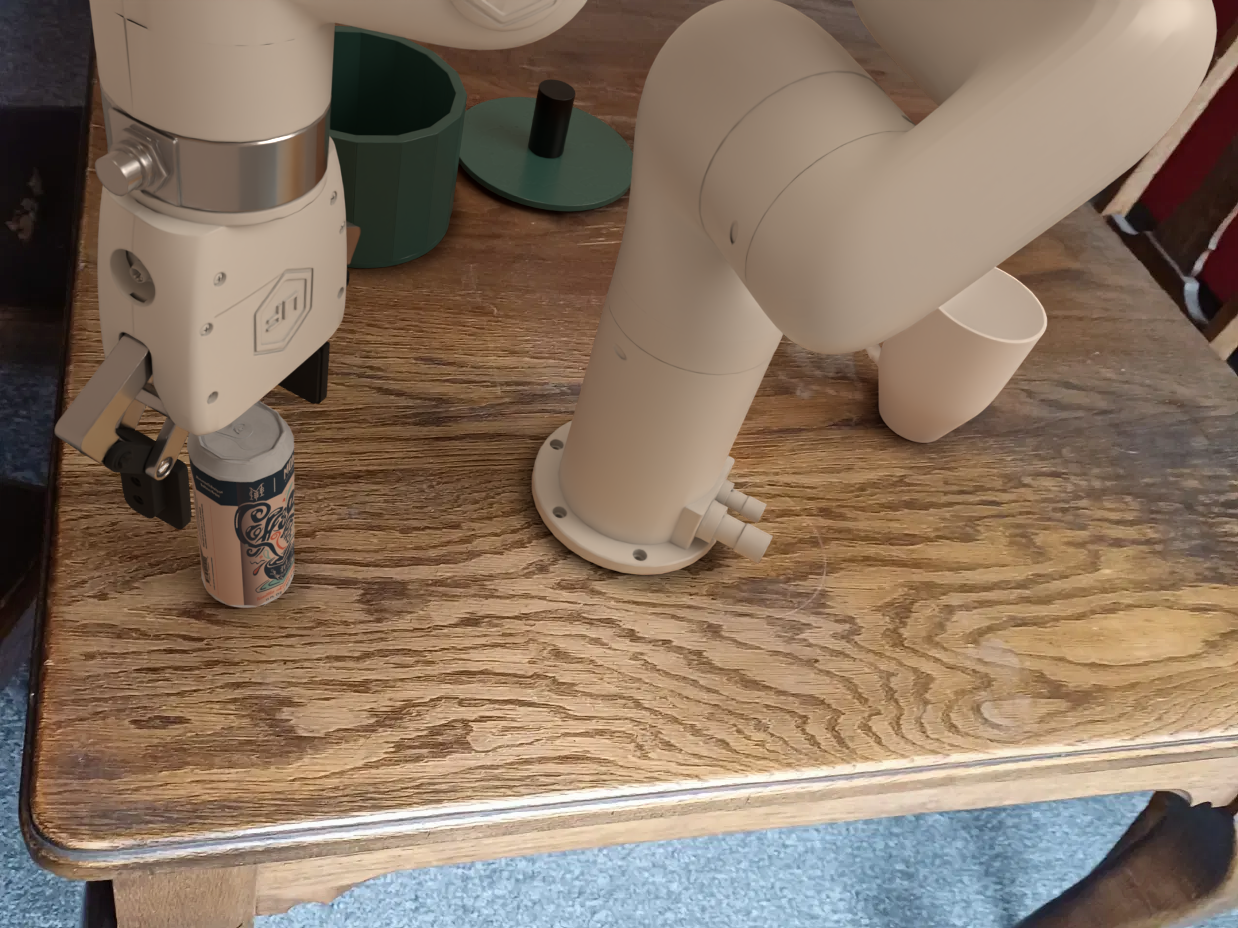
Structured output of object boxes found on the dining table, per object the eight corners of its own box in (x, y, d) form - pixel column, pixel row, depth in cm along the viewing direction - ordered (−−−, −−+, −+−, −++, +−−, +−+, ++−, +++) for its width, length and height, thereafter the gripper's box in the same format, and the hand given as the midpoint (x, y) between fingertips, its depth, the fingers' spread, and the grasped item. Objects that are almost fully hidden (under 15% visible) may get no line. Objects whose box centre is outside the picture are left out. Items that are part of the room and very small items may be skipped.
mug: (986, 428, 81) (1069, 308, 72) (931, 483, 76) (1013, 361, 67) (861, 340, 85) (926, 215, 76) (800, 387, 79) (862, 259, 71)
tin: (484, 203, 86) (503, 84, 78) (379, 296, 76) (388, 170, 68) (330, 128, 88) (334, 4, 80) (208, 208, 78) (198, 76, 70)
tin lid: (661, 160, 95) (680, 92, 91) (582, 243, 85) (599, 171, 80) (509, 88, 98) (520, 18, 93) (414, 160, 87) (421, 86, 82)
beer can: (272, 623, 57) (268, 480, 49) (185, 598, 57) (166, 449, 48) (307, 555, 61) (310, 408, 52) (225, 530, 60) (214, 380, 52)
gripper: (128, 294, 32) (167, 612, 44) (440, 85, 44) (402, 382, 56) (-71, 186, 33) (21, 526, 45) (286, 10, 45) (282, 318, 57)
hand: (231, 446), depth 51 cm, fingers open, 9 cm apart
